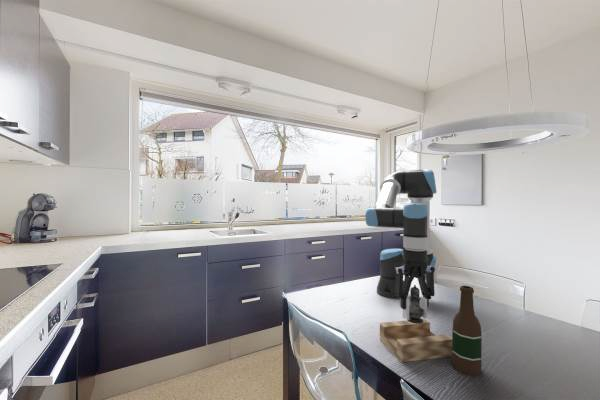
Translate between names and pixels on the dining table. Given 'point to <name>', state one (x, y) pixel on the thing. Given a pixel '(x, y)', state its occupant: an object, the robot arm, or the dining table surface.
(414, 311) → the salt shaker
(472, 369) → the beer bottle
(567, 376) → the dining table surface
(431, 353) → the well block
